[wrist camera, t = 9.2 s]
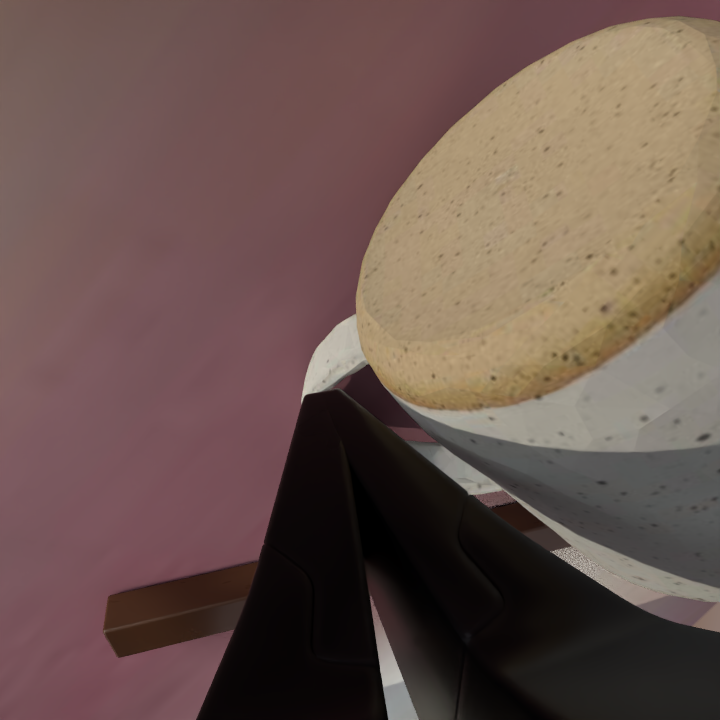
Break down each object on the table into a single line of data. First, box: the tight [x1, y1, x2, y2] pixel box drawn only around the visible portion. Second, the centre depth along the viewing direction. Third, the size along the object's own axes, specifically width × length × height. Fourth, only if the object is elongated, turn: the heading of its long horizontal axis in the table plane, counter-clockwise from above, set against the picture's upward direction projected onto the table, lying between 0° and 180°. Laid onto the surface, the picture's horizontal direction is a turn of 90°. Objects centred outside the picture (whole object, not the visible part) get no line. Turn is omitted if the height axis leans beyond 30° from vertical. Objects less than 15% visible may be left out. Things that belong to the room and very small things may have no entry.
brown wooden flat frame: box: [103, 503, 571, 658], centre depth 13 cm, size 28×20×2 cm
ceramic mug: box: [301, 16, 720, 602], centre depth 11 cm, size 11×8×8 cm
